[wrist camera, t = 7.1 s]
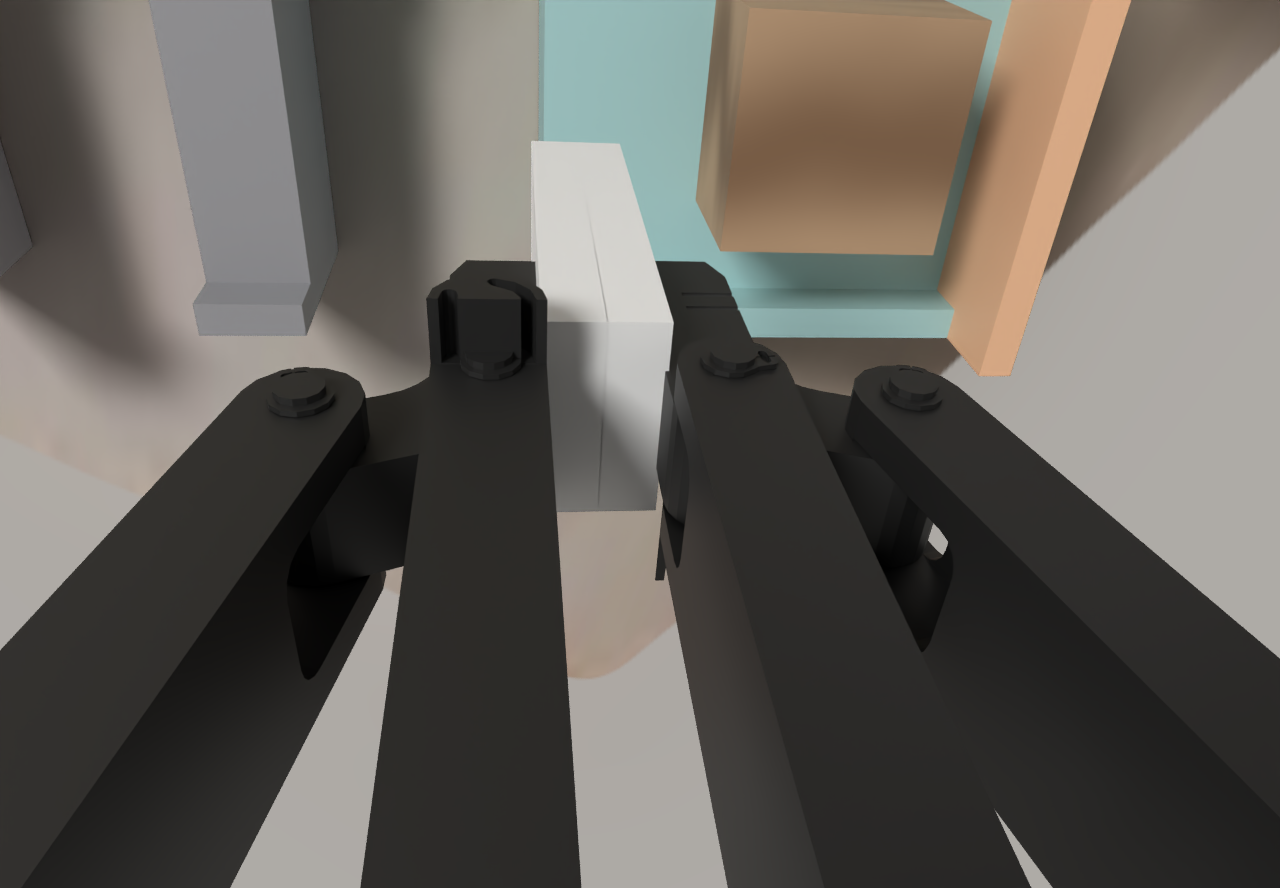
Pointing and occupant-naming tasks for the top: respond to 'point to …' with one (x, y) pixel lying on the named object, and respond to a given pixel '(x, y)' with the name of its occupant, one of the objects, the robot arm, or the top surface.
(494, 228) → the top surface
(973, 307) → the gap walkway
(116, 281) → the top surface
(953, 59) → the walnut block
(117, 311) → the top surface
